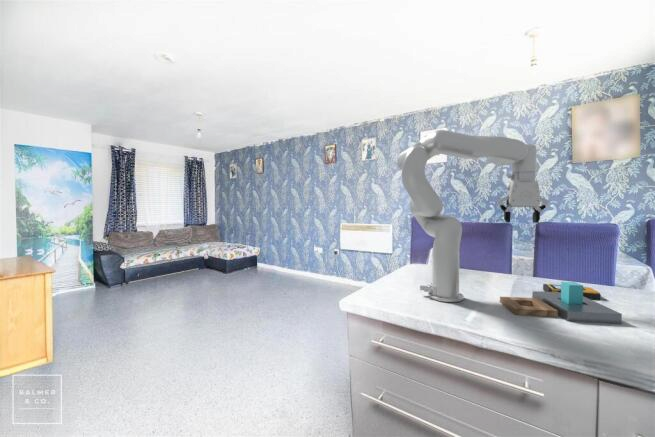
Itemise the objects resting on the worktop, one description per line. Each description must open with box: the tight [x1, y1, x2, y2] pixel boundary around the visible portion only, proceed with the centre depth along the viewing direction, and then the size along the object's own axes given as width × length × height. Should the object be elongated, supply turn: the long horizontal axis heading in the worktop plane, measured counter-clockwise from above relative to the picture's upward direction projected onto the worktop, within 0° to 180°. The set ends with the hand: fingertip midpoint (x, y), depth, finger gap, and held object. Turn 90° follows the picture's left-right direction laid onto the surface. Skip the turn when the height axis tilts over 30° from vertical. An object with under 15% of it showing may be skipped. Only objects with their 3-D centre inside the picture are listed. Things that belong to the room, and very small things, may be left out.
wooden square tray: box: [499, 296, 559, 318], centre depth 96 cm, size 12×12×2 cm
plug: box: [560, 281, 584, 305], centre depth 94 cm, size 4×4×9 cm
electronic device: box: [542, 283, 602, 301], centre depth 110 cm, size 8×16×3 cm, turn 66°
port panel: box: [531, 290, 623, 325], centre depth 94 cm, size 14×20×3 cm
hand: (521, 222), depth 109 cm, fingers open, 9 cm apart
